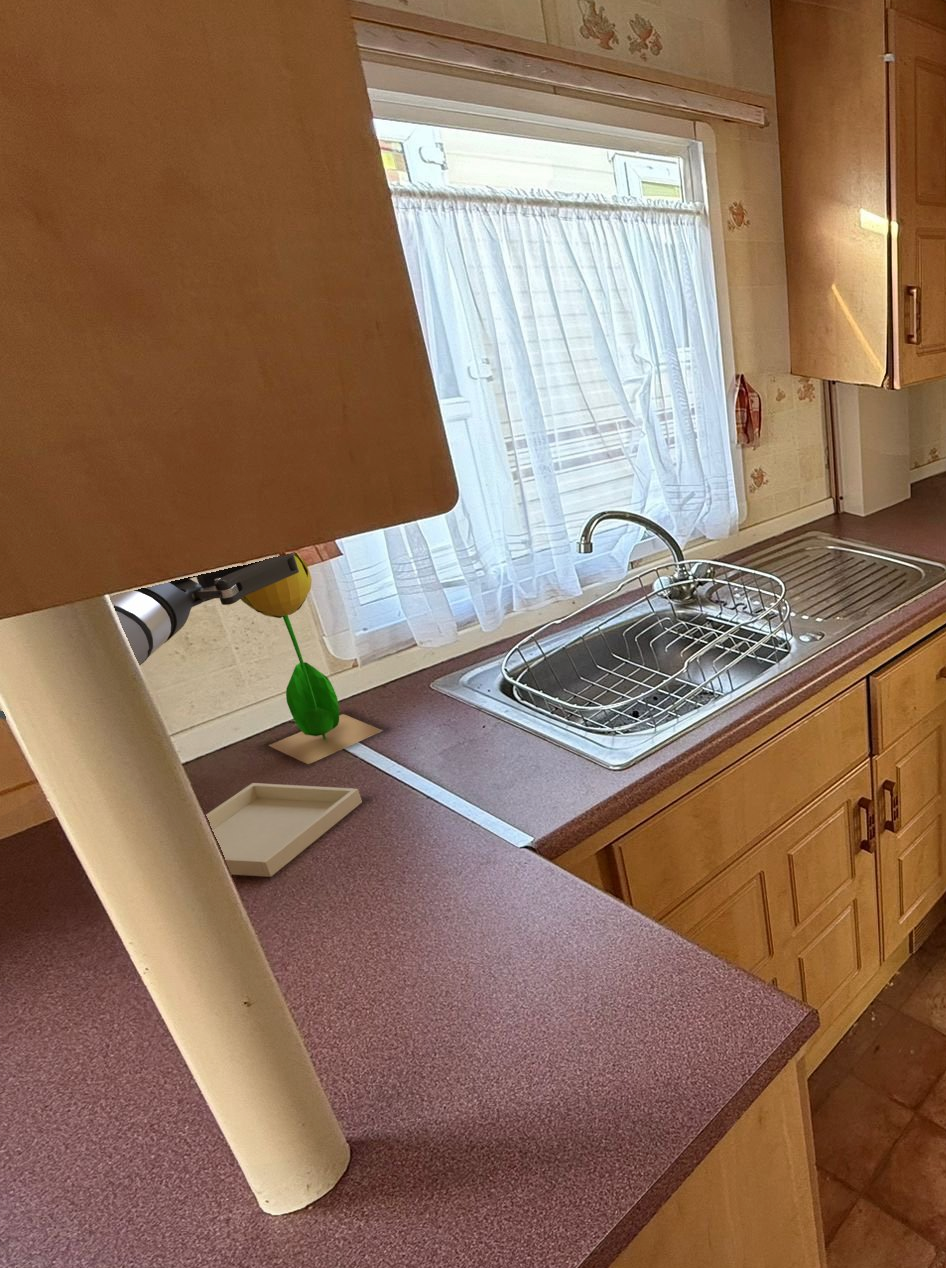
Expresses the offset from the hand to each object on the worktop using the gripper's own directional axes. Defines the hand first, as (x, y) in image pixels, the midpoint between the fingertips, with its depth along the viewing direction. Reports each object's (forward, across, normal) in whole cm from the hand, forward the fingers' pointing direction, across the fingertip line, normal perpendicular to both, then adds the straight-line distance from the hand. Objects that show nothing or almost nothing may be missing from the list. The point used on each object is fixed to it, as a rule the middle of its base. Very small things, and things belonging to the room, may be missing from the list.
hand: (212, 548), depth 101 cm
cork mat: (+12, 0, -35) cm, 37 cm away
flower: (+12, 0, -34) cm, 37 cm away
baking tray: (-10, 0, -35) cm, 36 cm away
